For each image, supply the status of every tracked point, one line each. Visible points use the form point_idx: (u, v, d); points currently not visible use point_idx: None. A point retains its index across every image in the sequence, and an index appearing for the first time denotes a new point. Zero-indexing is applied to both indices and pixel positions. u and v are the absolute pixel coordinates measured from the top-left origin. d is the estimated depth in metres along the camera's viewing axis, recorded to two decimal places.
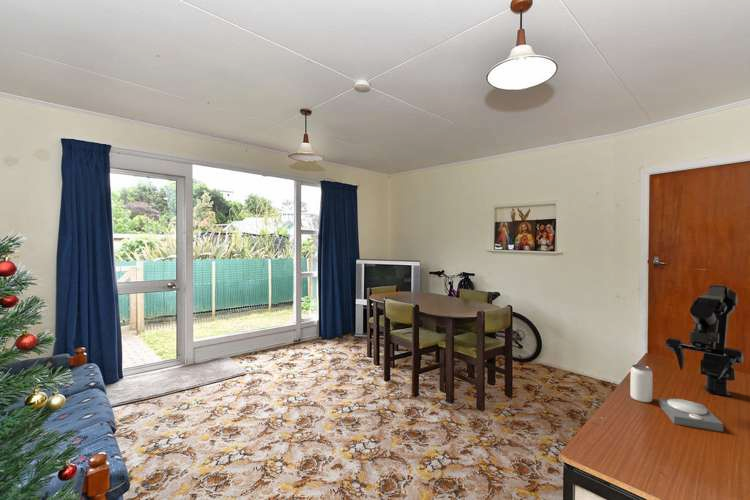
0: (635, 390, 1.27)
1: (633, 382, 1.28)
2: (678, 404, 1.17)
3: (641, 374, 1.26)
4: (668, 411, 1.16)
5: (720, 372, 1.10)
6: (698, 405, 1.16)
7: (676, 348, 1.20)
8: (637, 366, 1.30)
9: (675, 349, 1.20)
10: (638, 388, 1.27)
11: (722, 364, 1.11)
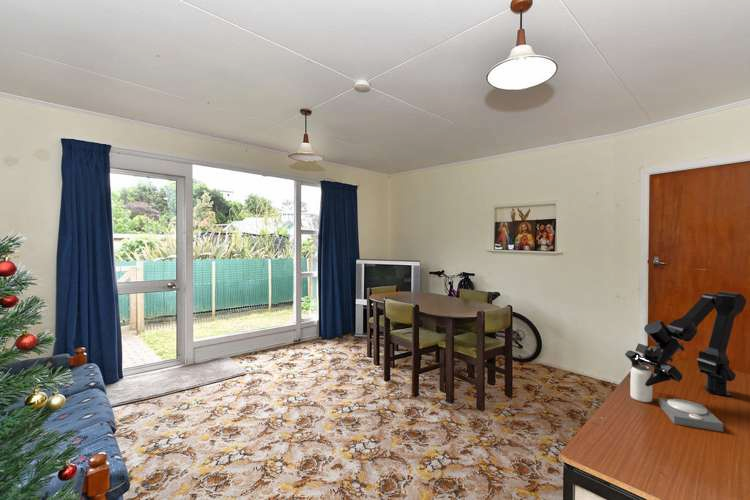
0: (635, 390, 1.27)
1: (633, 382, 1.28)
2: (678, 404, 1.17)
3: (641, 374, 1.26)
4: (668, 411, 1.16)
5: (648, 380, 1.25)
6: (698, 405, 1.16)
7: (632, 359, 1.33)
8: (637, 366, 1.30)
9: (632, 360, 1.34)
10: (638, 388, 1.27)
11: (653, 374, 1.24)
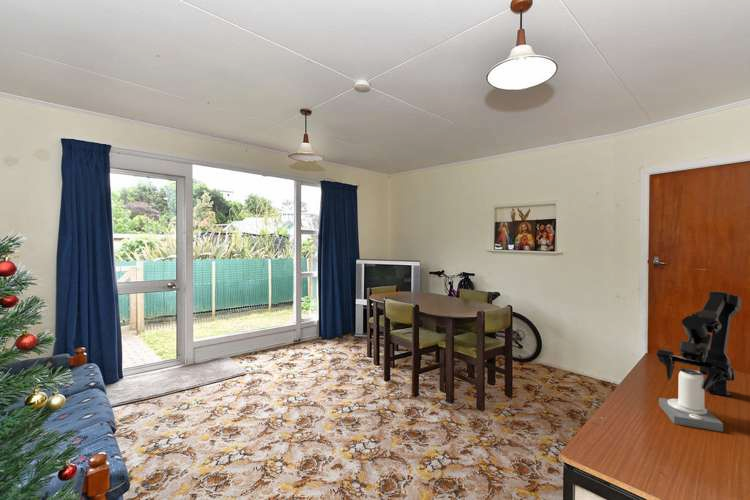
0: (690, 399, 1.13)
1: (686, 390, 1.14)
2: (678, 404, 1.17)
3: (697, 380, 1.12)
4: (668, 411, 1.16)
5: (706, 383, 1.12)
6: None
7: (666, 358, 1.22)
8: (684, 370, 1.17)
9: (665, 359, 1.22)
10: (693, 396, 1.13)
11: (709, 375, 1.12)
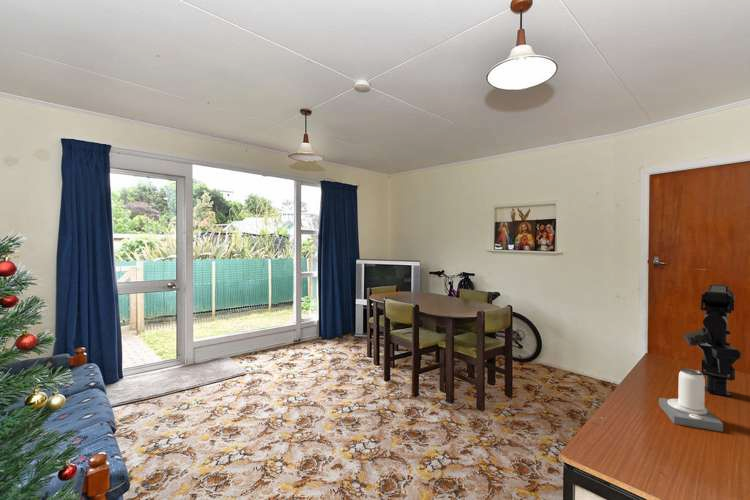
0: (690, 399, 1.13)
1: (686, 390, 1.14)
2: (678, 404, 1.17)
3: (697, 380, 1.12)
4: (668, 411, 1.16)
5: (719, 369, 1.19)
6: None
7: (698, 345, 1.29)
8: (685, 370, 1.17)
9: (698, 346, 1.29)
10: (693, 396, 1.13)
11: (717, 361, 1.18)
